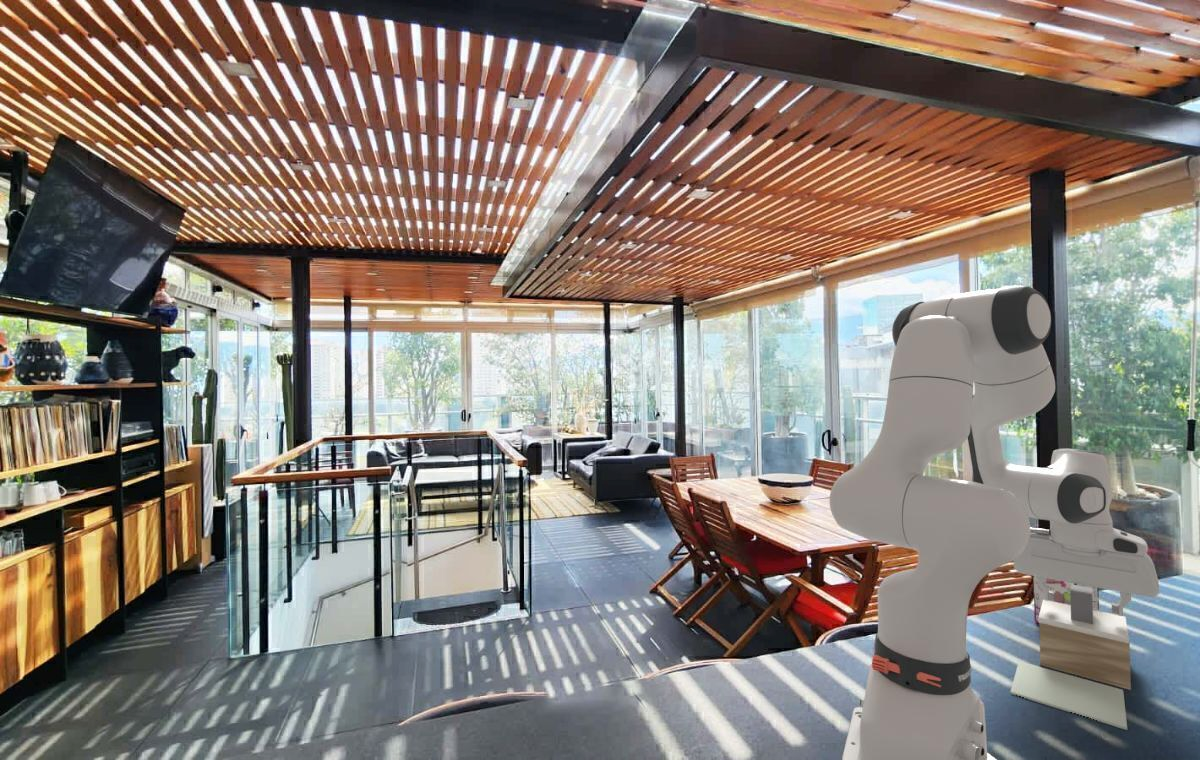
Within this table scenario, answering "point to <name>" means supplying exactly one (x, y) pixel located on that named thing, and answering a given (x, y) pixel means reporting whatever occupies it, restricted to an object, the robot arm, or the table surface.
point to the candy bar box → (1059, 594)
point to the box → (1085, 655)
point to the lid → (1084, 616)
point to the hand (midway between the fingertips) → (1082, 607)
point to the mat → (1070, 694)
